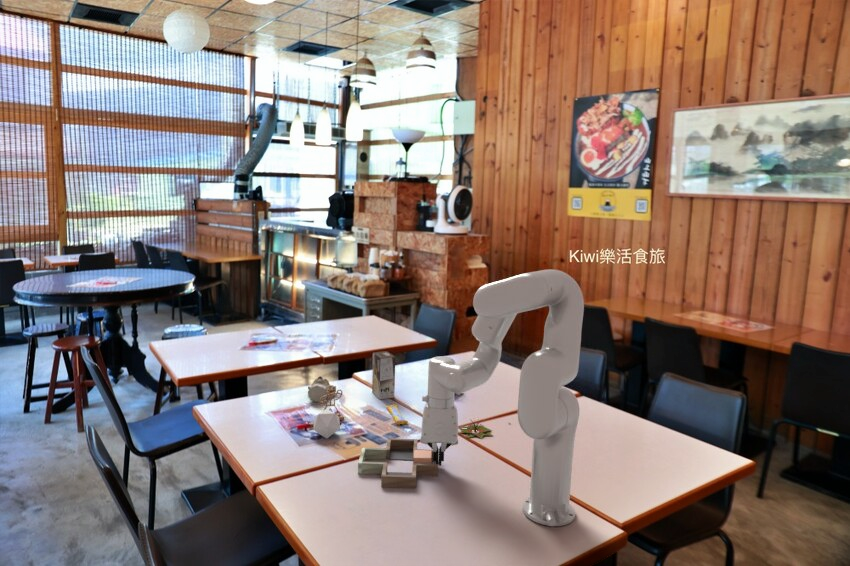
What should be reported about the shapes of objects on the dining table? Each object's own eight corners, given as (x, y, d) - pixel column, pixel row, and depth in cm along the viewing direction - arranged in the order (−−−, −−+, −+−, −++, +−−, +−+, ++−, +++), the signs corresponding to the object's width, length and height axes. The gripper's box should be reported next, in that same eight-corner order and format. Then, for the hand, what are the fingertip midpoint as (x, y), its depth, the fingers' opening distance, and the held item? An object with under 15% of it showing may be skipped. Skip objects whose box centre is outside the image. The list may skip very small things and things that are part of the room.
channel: (438, 488, 151) (438, 478, 151) (354, 486, 151) (354, 475, 151) (436, 449, 175) (437, 439, 175) (364, 446, 175) (364, 437, 175)
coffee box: (395, 397, 219) (396, 356, 216) (379, 399, 216) (380, 358, 214) (386, 390, 227) (387, 350, 225) (371, 392, 224) (371, 352, 222)
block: (430, 471, 161) (431, 458, 160) (413, 471, 161) (413, 457, 160) (430, 463, 166) (431, 450, 165) (413, 463, 166) (413, 449, 165)
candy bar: (408, 426, 193) (408, 420, 193) (396, 427, 192) (396, 421, 192) (397, 408, 209) (397, 403, 209) (385, 409, 208) (385, 404, 208)
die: (345, 438, 182) (344, 408, 187) (330, 433, 175) (329, 403, 180) (323, 443, 185) (323, 413, 190) (307, 438, 178) (307, 408, 183)
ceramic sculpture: (302, 380, 208) (310, 370, 223) (301, 403, 209) (309, 392, 224) (331, 381, 208) (337, 371, 223) (330, 405, 209) (337, 393, 224)
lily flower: (463, 442, 182) (464, 428, 181) (452, 427, 193) (453, 414, 193) (499, 439, 185) (500, 425, 184) (486, 425, 196) (486, 412, 196)
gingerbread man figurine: (318, 422, 192) (318, 388, 191) (316, 418, 196) (316, 384, 194) (344, 419, 196) (344, 386, 194) (341, 415, 199) (342, 382, 197)
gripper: (413, 405, 157) (411, 468, 159) (468, 407, 157) (465, 470, 159) (414, 395, 164) (412, 456, 167) (466, 397, 164) (463, 458, 167)
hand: (438, 462), depth 163 cm, fingers closed
